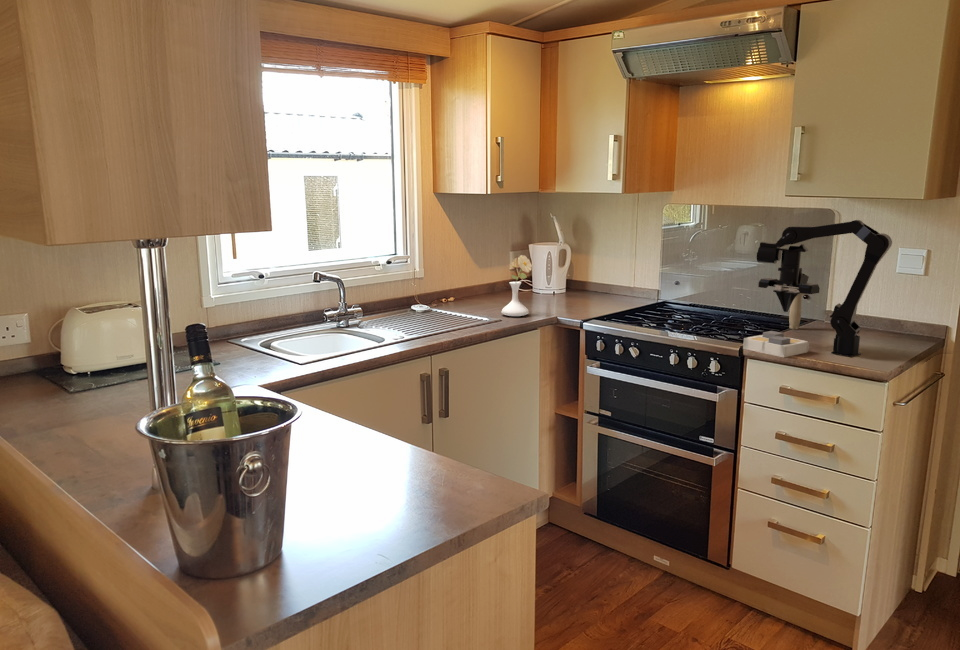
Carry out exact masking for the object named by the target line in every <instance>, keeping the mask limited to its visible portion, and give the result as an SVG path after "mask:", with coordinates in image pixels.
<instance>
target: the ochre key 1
mask: <svg viewBox="0 0 960 650" xmlns="http://www.w3.org/2000/svg"><path fill="white" fill-rule="evenodd" d="M753 340H758V341H763V342H765V341H769V339H766V338H761V337H759V338H754V339H753Z"/></svg>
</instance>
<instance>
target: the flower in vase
mask: <svg viewBox="0 0 960 650" xmlns="http://www.w3.org/2000/svg"><path fill="white" fill-rule="evenodd" d="M517 263H518V267H520V270H519V273H518V275H517V276H516V275H514V274H511V279H514V280H515V281H510V282H508V283H509V285H510V287H511V292H512V297H511V301H510V302H509V303H508V304H507V305H505V306H504V307H503V308H502V309H501V314H502V315H504V316H509V317H521V316H522V317H523V316H526V315H528V314H529V313H530V312H529V309H528V308H527V307H526V306H525V305H524V304H523V303H522V302H520V300H519V289H520V286H521V284H522V282H521V281H518V280H519V278H521V279H522V280H525V279H527V278H528V276H527V275H526V273H530V272H531V271H532V269H533V268H532V267H533V265H532V263H531V260H530V259H529V258H528V257H527V256H526V255H525V254H524V255H523V254H521V255H519V257H518V259H517ZM522 271H523V272H522Z"/></svg>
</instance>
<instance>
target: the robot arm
mask: <svg viewBox="0 0 960 650" xmlns="http://www.w3.org/2000/svg"><path fill="white" fill-rule="evenodd" d="M782 231H783V232H782V234H781V237H780V238H779V239H778V240H777V241H776V243H773V242H766V241H761V242H759V247H758V248H757V252H756V262H757V263H763V264H777V262H778V261H779V262H780V267H778V268H777V270H778V272H779V279H777V278H770V277H767V278H766V277H765V278H760V280H758V282H757V283H758V284H757V285H758V286H757V287H758V288H762V289H767V288H768V287H772V288H774V289H773V292H774V293H775V294H776V296H777V299H778V300H779V303H780V305H781V308H782V311H783V312H784V313H787V312H789V311H790V306H791V304H792V302H793V300H794V299H795V297H796V296H797V295H798V294H801V293H803V295H815V294H820V290H821V289H820V285H819V284H818V283H817V284H816V283H811V282H810V283H809V282H808V280H809V278H810V276H808V275H807V274H805V273H803V269H802V267H800V266H801V257H802V253H806V252H808V251H809V249H808V248H807V247H806V246H805V244H804V243H802V242H805V241H809V240H812V239H817V238H824V237H825V238H826V237H833V236H838V235H840V236H841V235H847V234H853V235H855V236H856V237H857V238H858V239H859V240H861V241H862V242H863V243H865V244H866V247H865V252H864V258H863V260H862V261H863V262H862V263H861V266H860V268H859V270H858V272H857V274H856V277H855V279H854V281H853V282H852V285H851V286H850V289H849V291H848V293H847V295H846V297H845V298H844V301H843V302H842V304H841V303H837V304H836V305H834V308H833V312H832V314H831V315H830V316H829V318H830V320H829V321H830V322H829V323H830V326H831V328H832V329H833V330H835V332H836V334H835V337H834V338H833V346H832V351H831V353H830V354H835V355H840V356H845V357H849V358H851V357H854V356H855V357H856V356H859V355H862V353H861V352H860V349H859V348H860V339H861V335H859V333H860V331H861V329H862V327H861V326H860V325H859V324H858V323H857V322H856V321H855V318H856V315H857V312H858V305H859V303H860V301H861V299H862V297H863V294H864V293H865V291H866V288H867V286H868V284H869V282H870V280H871V277H872V276H873V274H874V272H875V270H876V268H877V266H878V264H879V263H880V262H881V261H882V259H883V258H884V257H885V256H886V254H887V253H888V251H889V250H890V249H891V247H892V246H893V245H892V244H893V240H892V238H891V236H890V235H889V234H887V233H880V232H879V231H877V230H875V229H874V228H872V227H870V226H869V225H867V224H865V222H863V221H862V220H861V219H854V220H851V221H845V222H844V221H843V222H839V223H832V224H831V223H829V224H824V225H815V226H814V225H813V226H812V225H809V226H808V225H807V226H806V225H792V226H788V227H786V228H784V230H782ZM800 243H801V244H800ZM795 244H796V245H795ZM797 244H800V245H799V246H798V245H797ZM789 245H790V246H789ZM786 246H787V247H788V248H784V247H786ZM788 289H789V290H788Z"/></svg>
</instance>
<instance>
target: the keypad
mask: <svg viewBox="0 0 960 650" xmlns="http://www.w3.org/2000/svg"><path fill="white" fill-rule="evenodd" d="M759 337H761V338H765V337H763V334H759V335H753V336H748V337H744V338H743V345H742V349H743V350H747V351H752V352H753V351H754V352H757V353H760V354H761V353H762V354H767V355H770V356H775V357H781V358H788V357H792V356H797V355H801V354H806V353H809V346H810V344H809V343H810V342H809V341H808V340H804V339H798V338H792V337H789V336H787V337H786V336H784V337H785V338H790V339H793V340H799V341H800V342H795V343H791V342H790V344H785V345H778V344H773V343H768V342H769V341H765V342H763V341H758V340H753V339H754V338H759ZM766 339H769V338H766Z"/></svg>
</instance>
